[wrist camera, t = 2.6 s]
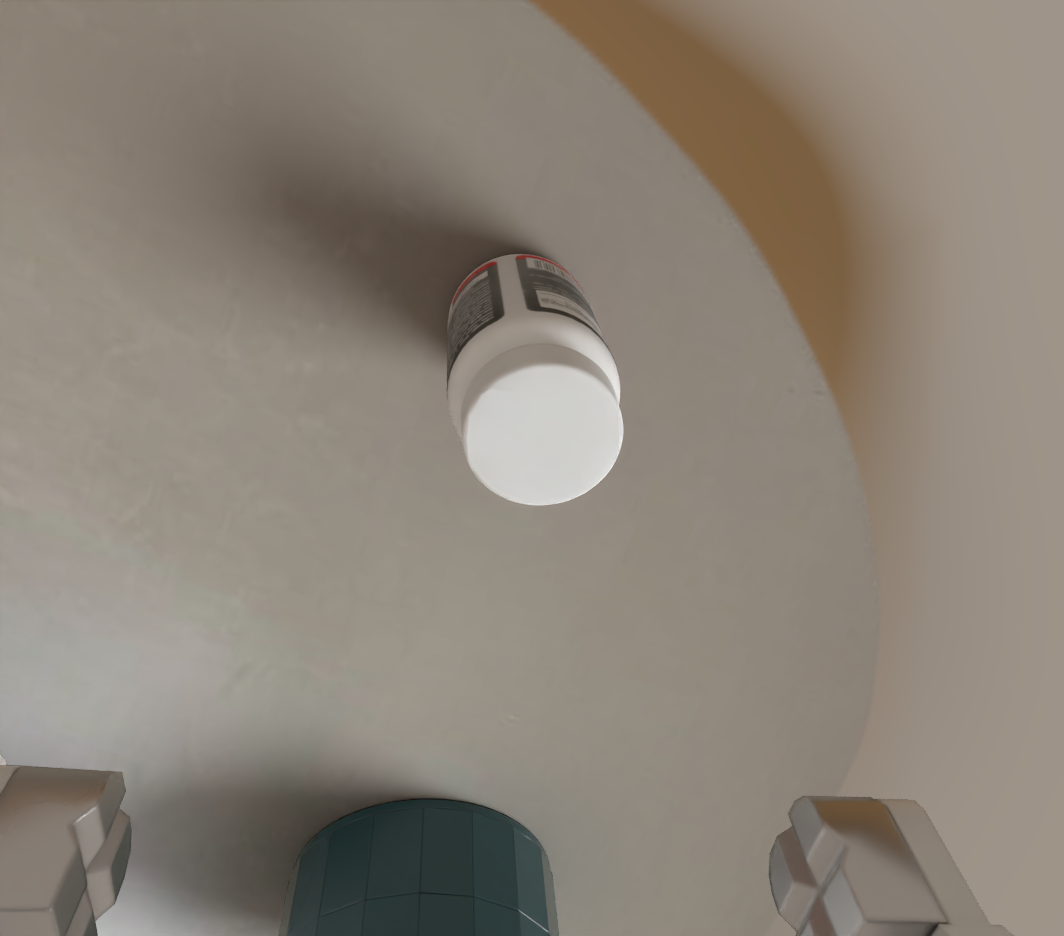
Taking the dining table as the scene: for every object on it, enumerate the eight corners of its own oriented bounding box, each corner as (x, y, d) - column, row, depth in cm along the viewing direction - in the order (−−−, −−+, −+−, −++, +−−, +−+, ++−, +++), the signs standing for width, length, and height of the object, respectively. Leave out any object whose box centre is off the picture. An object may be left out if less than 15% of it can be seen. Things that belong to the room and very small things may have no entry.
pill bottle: (467, 399, 28) (472, 538, 21) (430, 269, 26) (420, 377, 19) (600, 368, 28) (650, 498, 21) (575, 235, 26) (621, 330, 18)
